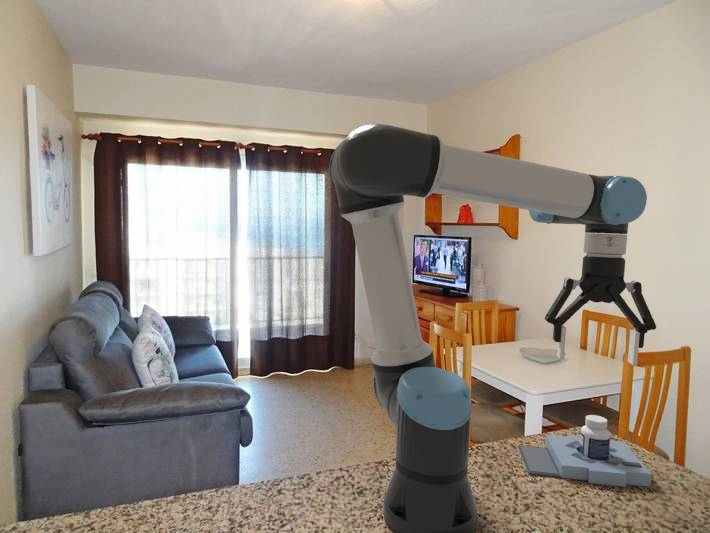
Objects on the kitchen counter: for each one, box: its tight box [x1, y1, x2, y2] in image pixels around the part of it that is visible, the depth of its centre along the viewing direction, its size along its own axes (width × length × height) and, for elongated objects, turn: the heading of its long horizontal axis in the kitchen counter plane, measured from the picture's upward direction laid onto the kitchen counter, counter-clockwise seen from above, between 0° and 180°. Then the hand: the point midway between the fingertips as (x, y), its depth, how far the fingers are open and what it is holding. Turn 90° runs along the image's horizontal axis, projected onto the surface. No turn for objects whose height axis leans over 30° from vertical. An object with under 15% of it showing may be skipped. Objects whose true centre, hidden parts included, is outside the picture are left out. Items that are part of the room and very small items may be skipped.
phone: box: [517, 444, 562, 479], centre depth 101 cm, size 12×6×1 cm, turn 171°
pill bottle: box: [579, 414, 611, 461], centre depth 99 cm, size 5×5×10 cm
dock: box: [544, 434, 653, 488], centre depth 100 cm, size 16×16×3 cm
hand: (595, 360), depth 99 cm, fingers open, 13 cm apart
